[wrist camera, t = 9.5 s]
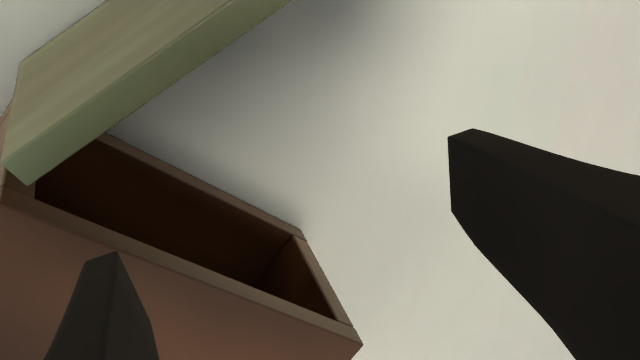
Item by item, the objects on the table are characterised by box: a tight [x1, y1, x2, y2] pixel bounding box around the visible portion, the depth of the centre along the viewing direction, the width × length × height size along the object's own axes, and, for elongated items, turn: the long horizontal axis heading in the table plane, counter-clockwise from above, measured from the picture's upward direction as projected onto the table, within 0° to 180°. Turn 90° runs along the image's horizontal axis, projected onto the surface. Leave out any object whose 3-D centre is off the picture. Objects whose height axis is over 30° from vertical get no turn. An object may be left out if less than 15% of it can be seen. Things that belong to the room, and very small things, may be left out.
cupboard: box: [0, 99, 363, 360], centre depth 20 cm, size 9×12×7 cm
